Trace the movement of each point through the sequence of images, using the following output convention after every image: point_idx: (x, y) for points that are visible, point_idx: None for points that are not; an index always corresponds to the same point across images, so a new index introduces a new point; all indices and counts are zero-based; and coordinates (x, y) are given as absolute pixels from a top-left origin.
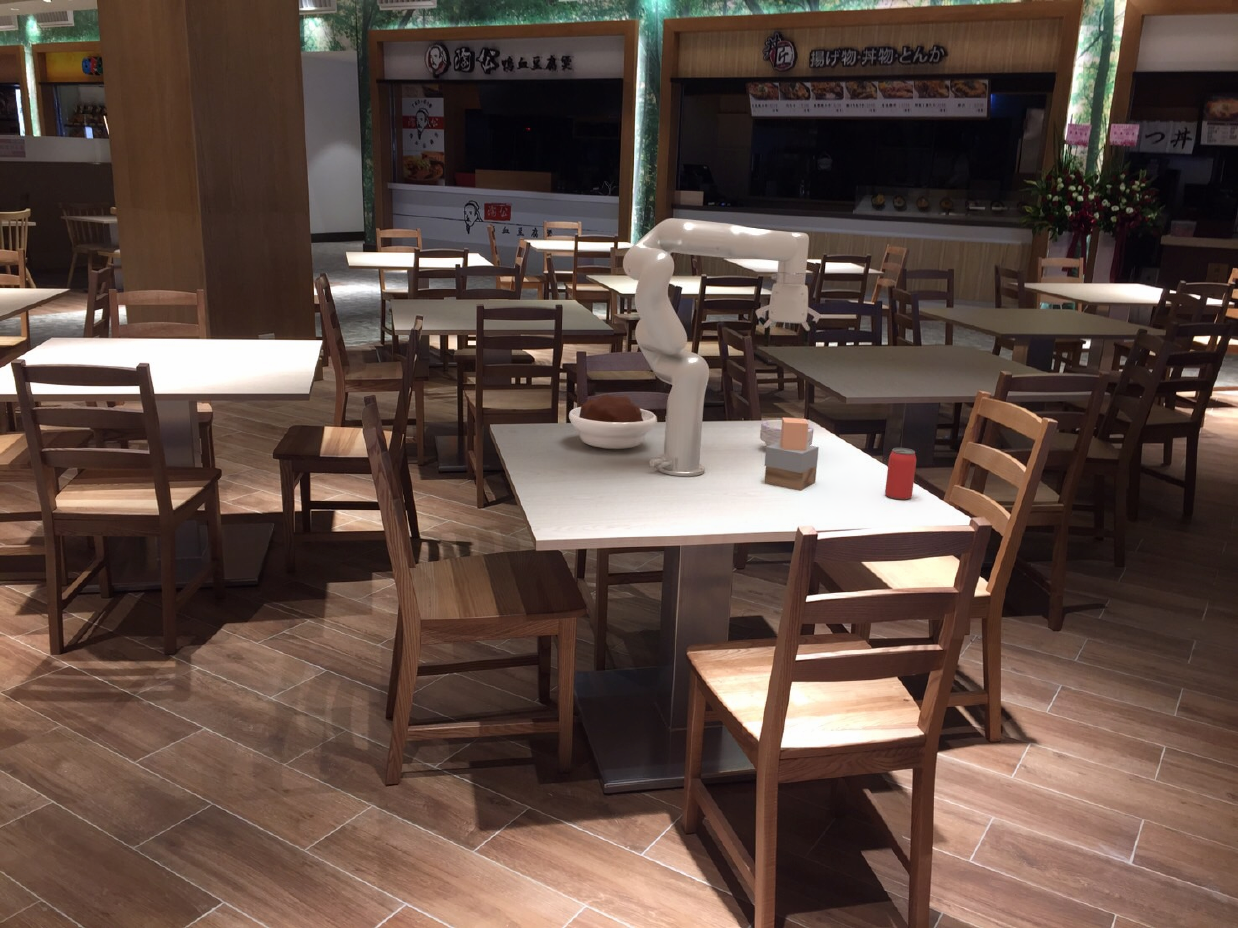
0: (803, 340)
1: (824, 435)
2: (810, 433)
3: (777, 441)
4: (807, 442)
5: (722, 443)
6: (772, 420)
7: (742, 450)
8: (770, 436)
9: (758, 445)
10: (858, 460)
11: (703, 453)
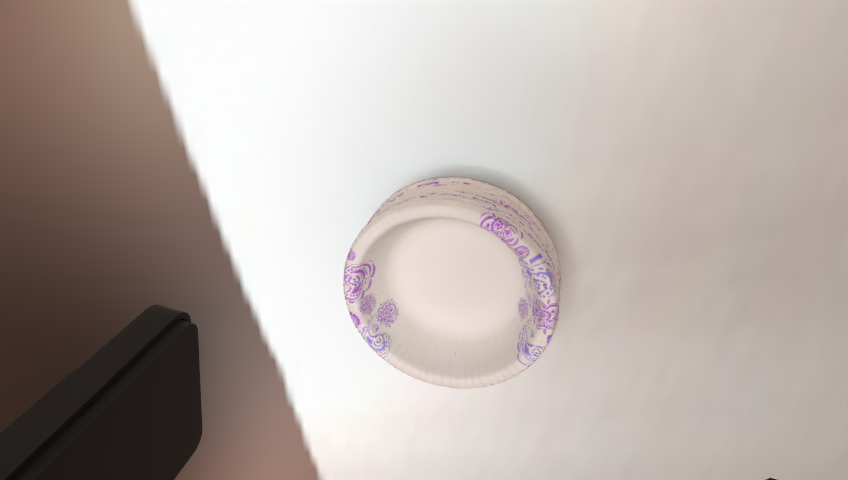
0: (128, 350)
1: (311, 440)
2: (361, 231)
3: (506, 198)
4: (382, 207)
5: (687, 337)
6: (495, 375)
7: (632, 244)
8: (532, 226)
9: None
10: (222, 153)
11: (835, 177)
